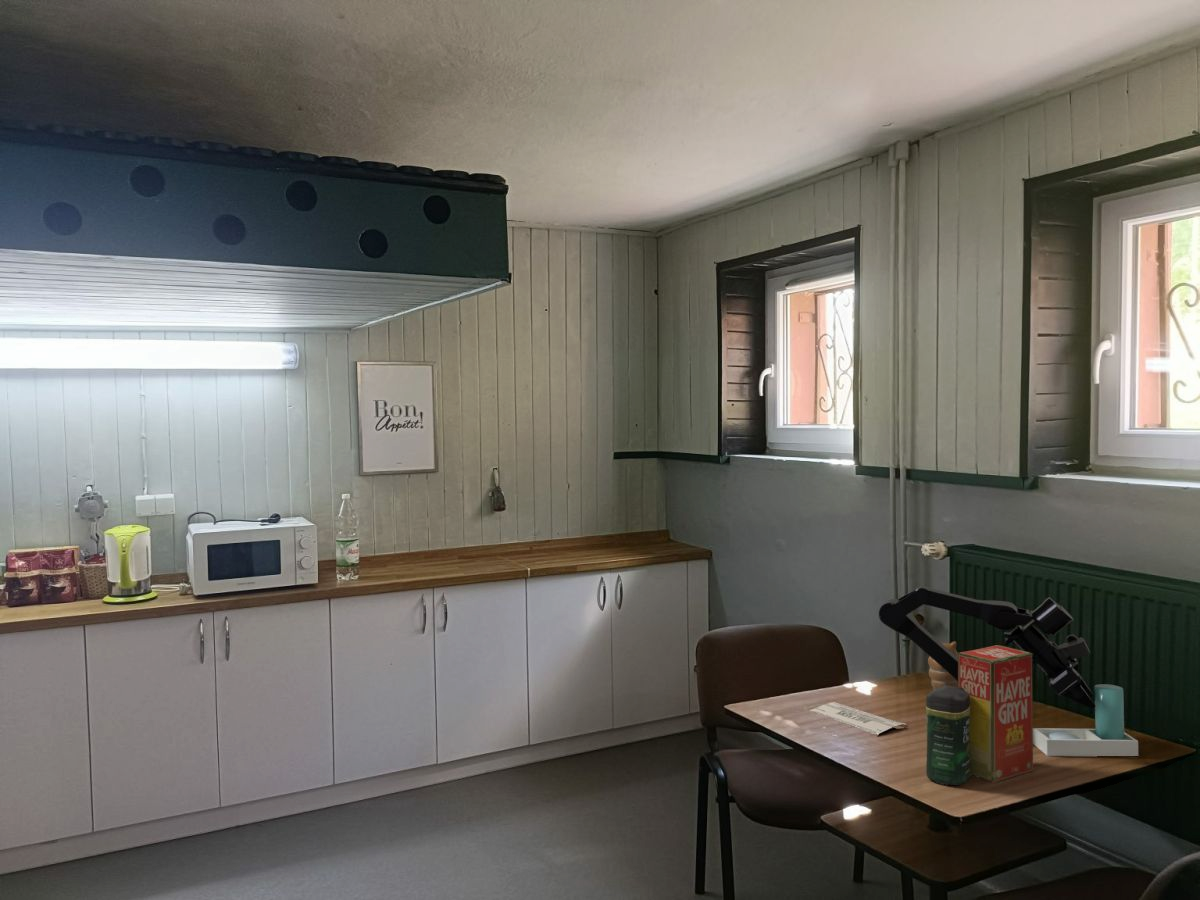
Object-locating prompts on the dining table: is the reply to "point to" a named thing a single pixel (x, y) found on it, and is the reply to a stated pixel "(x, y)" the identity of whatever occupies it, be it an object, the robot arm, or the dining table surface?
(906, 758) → the dining table surface
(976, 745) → the food packaging
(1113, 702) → the teal rounded block
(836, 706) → the newspaper
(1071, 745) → the rack
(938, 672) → the cat ice cream
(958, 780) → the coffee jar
